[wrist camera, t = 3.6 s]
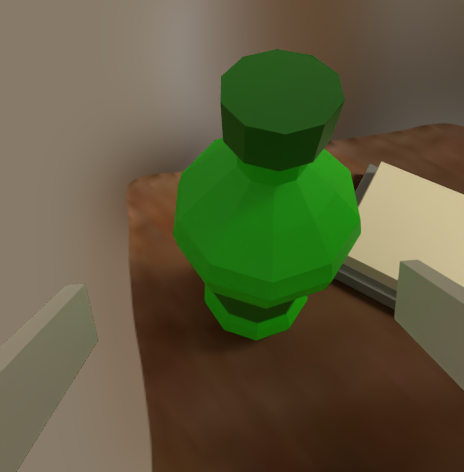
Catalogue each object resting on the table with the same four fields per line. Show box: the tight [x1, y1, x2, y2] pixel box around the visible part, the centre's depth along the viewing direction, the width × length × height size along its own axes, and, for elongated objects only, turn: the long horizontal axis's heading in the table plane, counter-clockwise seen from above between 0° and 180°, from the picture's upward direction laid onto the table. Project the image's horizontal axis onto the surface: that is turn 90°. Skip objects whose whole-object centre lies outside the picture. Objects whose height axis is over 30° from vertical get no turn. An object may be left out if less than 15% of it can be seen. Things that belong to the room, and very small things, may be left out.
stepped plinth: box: [334, 162, 464, 310], centre depth 33 cm, size 15×15×4 cm
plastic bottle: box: [173, 49, 361, 341], centre depth 22 cm, size 10×10×25 cm
